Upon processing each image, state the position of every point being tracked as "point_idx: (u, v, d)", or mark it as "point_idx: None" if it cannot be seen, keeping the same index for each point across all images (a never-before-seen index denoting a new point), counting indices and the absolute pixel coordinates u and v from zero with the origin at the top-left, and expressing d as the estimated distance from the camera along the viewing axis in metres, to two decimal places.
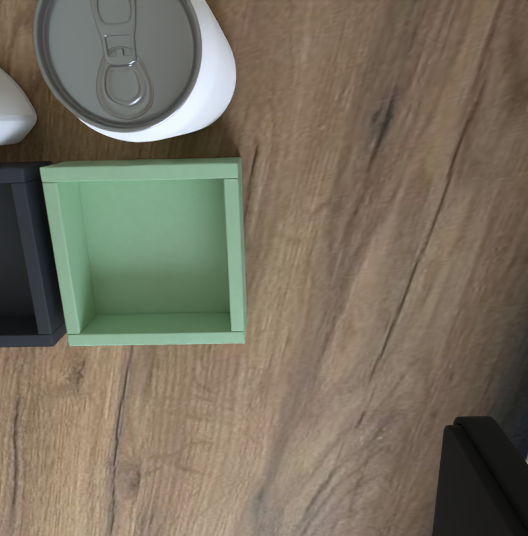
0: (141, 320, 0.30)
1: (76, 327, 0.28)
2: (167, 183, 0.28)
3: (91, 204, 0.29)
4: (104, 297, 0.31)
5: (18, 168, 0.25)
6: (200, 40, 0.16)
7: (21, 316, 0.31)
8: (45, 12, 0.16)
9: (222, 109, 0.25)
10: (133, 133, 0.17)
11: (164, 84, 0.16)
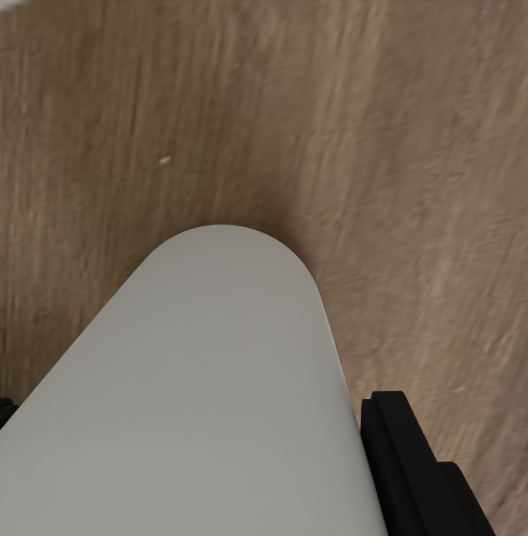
0: None
1: None
2: None
3: None
4: None
5: None
6: None
7: None
8: None
9: None
10: None
11: None
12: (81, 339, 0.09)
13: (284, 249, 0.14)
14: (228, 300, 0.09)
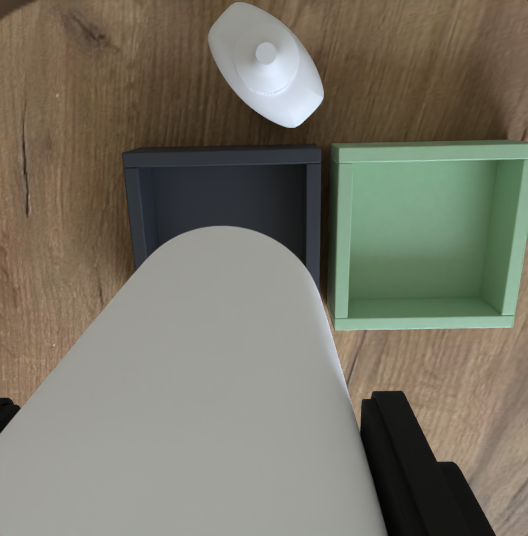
0: (394, 305, 0.30)
1: (345, 311, 0.28)
2: (434, 166, 0.28)
3: (353, 187, 0.29)
4: (350, 282, 0.30)
5: (316, 148, 0.25)
6: None
7: None
8: None
9: None
10: None
11: None
12: (81, 341, 0.09)
13: (284, 250, 0.14)
14: (228, 302, 0.09)
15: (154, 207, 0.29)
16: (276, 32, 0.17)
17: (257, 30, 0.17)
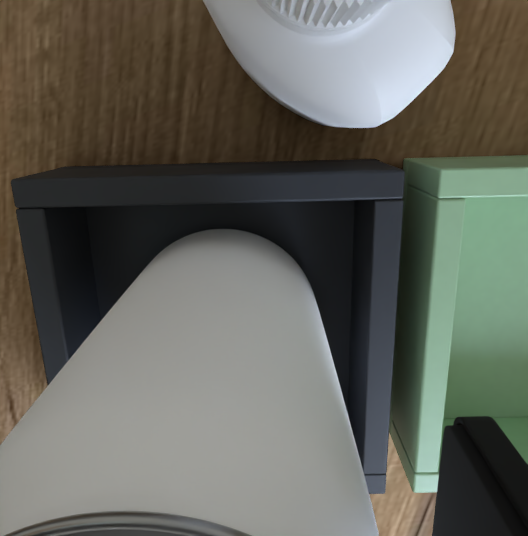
0: (510, 435, 0.17)
1: (435, 462, 0.15)
2: None
3: None
4: None
5: (395, 171, 0.13)
6: None
7: None
8: None
9: None
10: None
11: None
12: (99, 328, 0.10)
13: (280, 251, 0.15)
14: (229, 294, 0.10)
15: (92, 271, 0.16)
16: None
17: None
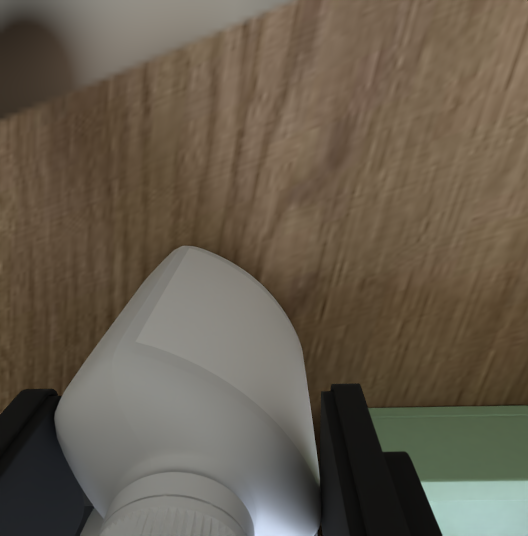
0: None
1: None
2: None
3: None
4: None
5: None
6: None
7: None
8: None
9: None
10: None
11: None
12: None
13: None
14: None
15: None
16: None
17: None
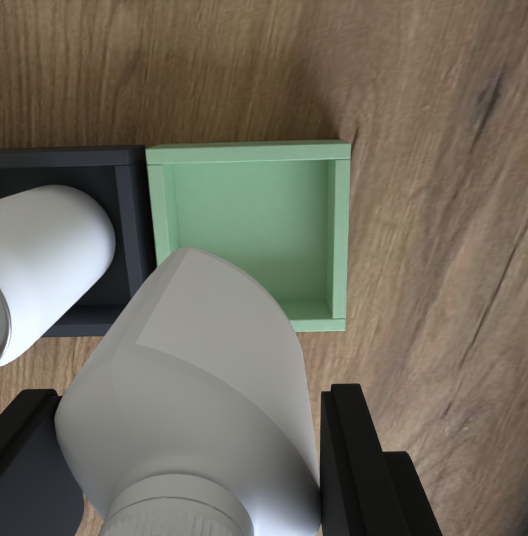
0: None
1: None
2: (264, 166, 0.28)
3: (185, 188, 0.28)
4: None
5: (123, 150, 0.24)
6: (7, 313, 0.17)
7: (107, 305, 0.30)
8: None
9: (96, 280, 0.27)
10: None
11: None
12: None
13: (84, 196, 0.27)
14: (13, 204, 0.22)
15: None
16: None
17: None
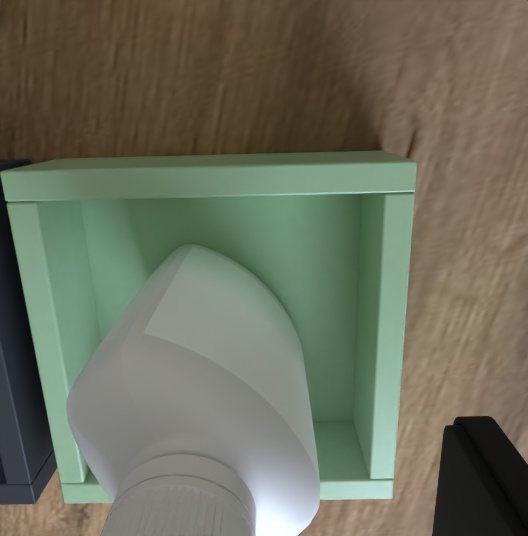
0: None
1: (78, 472, 0.15)
2: (247, 199, 0.15)
3: (104, 238, 0.16)
4: None
5: None
6: None
7: None
8: None
9: None
10: None
11: None
12: None
13: None
14: None
15: None
16: None
17: None
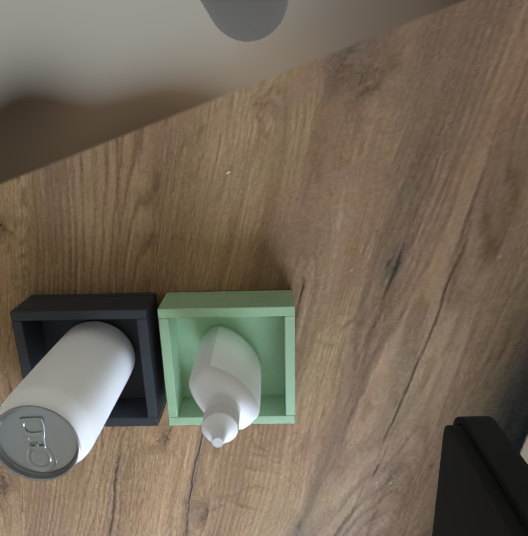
0: None
1: (175, 412, 0.39)
2: None
3: (184, 322, 0.40)
4: None
5: (142, 309, 0.37)
6: (78, 443, 0.30)
7: (128, 399, 0.42)
8: None
9: None
10: None
11: (62, 457, 0.30)
12: (35, 367, 0.34)
13: (114, 331, 0.39)
14: (73, 357, 0.34)
15: (43, 336, 0.40)
16: (224, 419, 0.30)
17: (214, 418, 0.30)
